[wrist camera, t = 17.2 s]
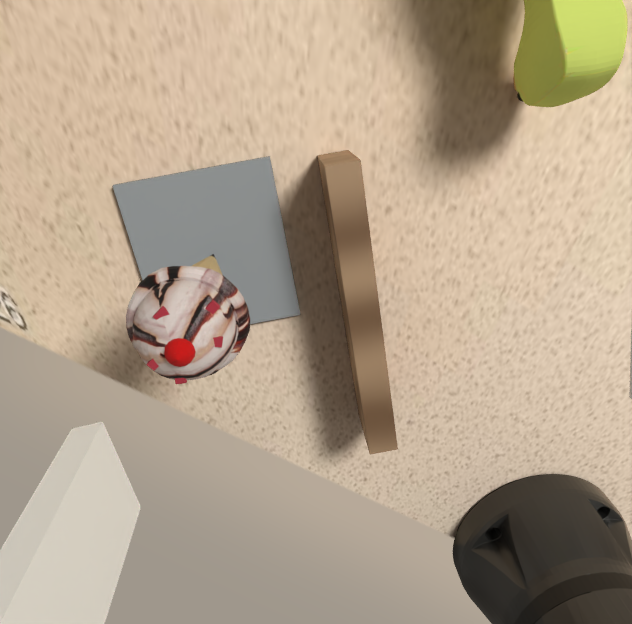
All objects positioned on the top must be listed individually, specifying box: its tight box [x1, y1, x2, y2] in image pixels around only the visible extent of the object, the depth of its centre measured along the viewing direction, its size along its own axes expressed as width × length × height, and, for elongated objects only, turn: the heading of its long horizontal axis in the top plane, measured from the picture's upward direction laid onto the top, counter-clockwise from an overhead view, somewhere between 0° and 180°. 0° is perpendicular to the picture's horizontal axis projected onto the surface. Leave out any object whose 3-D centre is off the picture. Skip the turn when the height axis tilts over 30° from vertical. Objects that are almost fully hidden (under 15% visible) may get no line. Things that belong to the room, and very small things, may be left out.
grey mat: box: [113, 156, 300, 324], centre depth 36 cm, size 11×10×1 cm
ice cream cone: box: [126, 254, 250, 384], centre depth 28 cm, size 6×6×15 cm
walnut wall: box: [318, 150, 398, 454], centre depth 35 cm, size 20×2×5 cm, turn 9°
